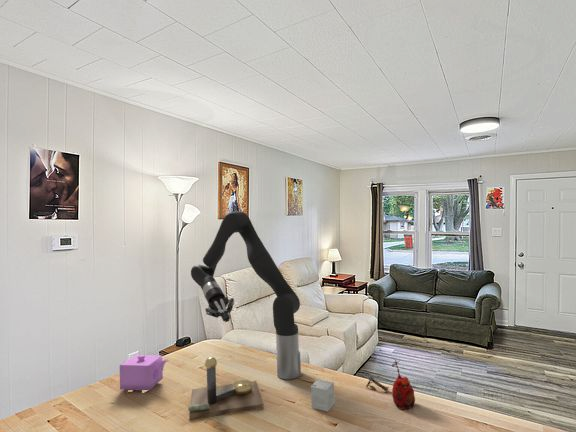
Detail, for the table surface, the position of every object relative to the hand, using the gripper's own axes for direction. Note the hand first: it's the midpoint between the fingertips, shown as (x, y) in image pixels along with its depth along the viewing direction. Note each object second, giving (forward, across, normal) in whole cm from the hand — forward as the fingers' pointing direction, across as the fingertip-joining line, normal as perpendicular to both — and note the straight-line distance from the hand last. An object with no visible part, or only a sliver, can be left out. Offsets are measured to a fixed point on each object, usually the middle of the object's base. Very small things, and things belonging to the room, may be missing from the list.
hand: (227, 320), depth 138 cm
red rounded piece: (+57, +40, +10) cm, 70 cm away
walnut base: (+23, -11, +13) cm, 28 cm away
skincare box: (+43, +17, +11) cm, 48 cm away
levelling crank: (+23, -9, +12) cm, 27 cm away
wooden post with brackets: (+46, +39, +16) cm, 62 cm away
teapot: (-2, -36, +20) cm, 41 cm away
